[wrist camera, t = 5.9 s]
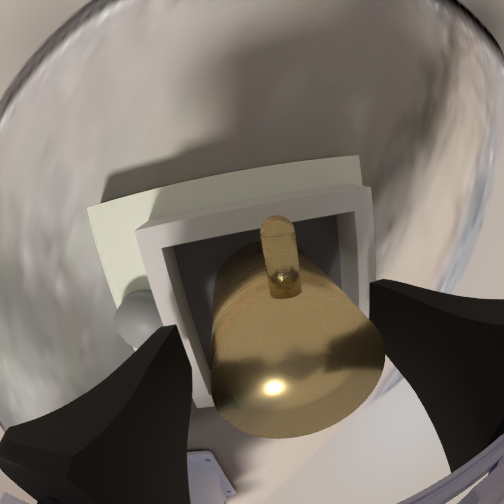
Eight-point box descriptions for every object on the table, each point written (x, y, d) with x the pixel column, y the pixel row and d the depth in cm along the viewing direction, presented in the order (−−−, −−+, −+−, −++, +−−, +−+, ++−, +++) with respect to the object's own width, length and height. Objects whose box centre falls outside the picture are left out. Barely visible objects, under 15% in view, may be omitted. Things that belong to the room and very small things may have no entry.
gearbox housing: (355, 345, 16) (381, 380, 13) (162, 384, 15) (154, 426, 12) (344, 156, 13) (382, 154, 9) (99, 203, 12) (64, 215, 9)
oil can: (322, 326, 13) (376, 412, 8) (226, 347, 13) (233, 449, 7) (308, 186, 11) (389, 205, 6) (191, 207, 11) (162, 247, 5)
